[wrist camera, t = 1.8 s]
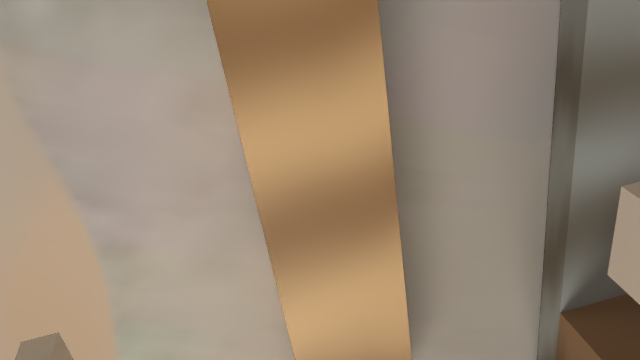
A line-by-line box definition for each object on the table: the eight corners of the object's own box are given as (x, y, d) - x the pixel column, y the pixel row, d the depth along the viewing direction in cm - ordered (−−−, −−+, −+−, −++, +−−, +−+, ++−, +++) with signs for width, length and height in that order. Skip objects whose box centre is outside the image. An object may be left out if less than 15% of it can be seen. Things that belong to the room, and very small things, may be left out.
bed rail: (386, 393, 27) (424, 486, 23) (309, 415, 27) (333, 515, 23) (287, -349, 14) (333, -462, 9) (128, -329, 13) (98, -439, 9)
